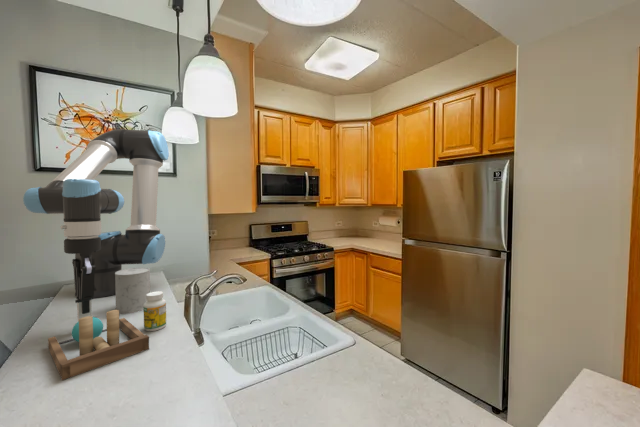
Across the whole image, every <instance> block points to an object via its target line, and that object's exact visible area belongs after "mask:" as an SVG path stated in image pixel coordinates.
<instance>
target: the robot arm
mask: <svg viewBox="0 0 640 427" xmlns="http://www.w3.org/2000/svg"><path fill="white" fill-rule="evenodd" d="M169 152H170V151H169V145H168V142H167V140H166V138H165V136H164V135H163V133H162V132H160V131H157V130H155V131H154V130H150V129H148V130H143V129H142V130H141V129H140V130H139V129H125V128H119V129H112V130H109V131H106V132H104V133H102V134H100V135H98V136H96V137H95V138H93V139H92V140H91V141H90V142H88V144H87V146H86V150H84V151H83V152H82V153H81V154H80V155H79V156H78V157H77V158H76V159H75V160H73V162H70V164H69V165H68V166H67V167H66V168H65V169H64V170H62V171H61V172H60V173H59V174H58V175H57V176H56V177H55V178H54V179H52V180H51V182H49V183H48V184H47V185H45V187H42V186H38V187H31V188H28V189H26V191H25V192H24V193H23V197H22V200H23V201H22V202H23V205H24V206H25V208H26V209H27V210H28V211H29V212H31V213H35V214H46V215H50V214H51V215H52V214H53V215H55V214H57V215H59V214H63V224H62V225H61V226H60V229H61V230H63V236H64V237H65V239H63V252H64V253H65V254H69V255H72V254H73V255H74V258H73V259H72V260H71V263H72V268H73V278H74V296H75V297H76V299H75V300H74V301H75V304H76V308H77V310H76V311H77V314H76V315H77V316H76V317H77V322H78V321H79V319H80V318H83V317H87V316H92V317H93V313H92V311H93V310H92V300H94V299H95V298H96V299H97V298H104V297H109V296H115V295H116V287H115V272H117V271H120V270H123V269H122V267H123V266H122V265H148V264H149V265H150V264H156V263H158V262H159V261H160V260H161V258H162V256H163V254H164V251H165V247H166V240H165V239H166V237H165V234H162V233H161V229H160V228H159V227H158V226H157V213H158V212H157V211H158V208H157V207H158V187H159V183H158V182H159V169H160V168H161V167H163V165H164V162H165V161H168V160H169V154H170V153H169ZM118 159H119V160H121V159H127V160H129V163H130V164H131V165H132V166H133V170H132V171H133V173H132V192H131V206H130V207H131V209H130V211H131V212H130V225H129V227H127V228H126V229H125V234H122V231H121V230H114V231H113V230H112V231H106V232H102V220H101V215H102V214H103V215H105V214H110V215H111V214H113V213H118V212H119V211H120V210H122V209H123V207H124V204H125V198H124V196H123V195H122V193H121V192H119V191H117V190H114V189H112V188H101V184H100V182H99V181H98V180H96V178H97V177H98V175H100V174H101V172H102V171H103V170H104V169H105V168H106V167H107V166H108V165H109V164H113V163H114V162H116V160H118Z"/></svg>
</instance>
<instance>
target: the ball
mask: <svg viewBox="0 0 640 427" xmlns="http://www.w3.org/2000/svg"><path fill="white" fill-rule="evenodd" d="M92 317H93V339H94V338H95V337H100V336H101V334H102V333H103V332H102V330H104V324H103V322H102V320H101V319H100V318H99V317H96V316H95V317H94V316H92ZM71 338H72V339H74V340H73V341H75V342H77V343H79V321H78V320H77V322H76V323H75V324H74V325H73V327H72V329H71Z"/></svg>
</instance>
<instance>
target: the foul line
mask: <svg viewBox="0 0 640 427" xmlns="http://www.w3.org/2000/svg"><path fill="white" fill-rule="evenodd" d="M104 332H107V328H105V329H103V330H102V332H101V333H104ZM72 341H75V340H74V339H73V338H70V339H66V340H63V341H60V342H59V341H58V343H59V345H61V344H66V343H69V342H72Z"/></svg>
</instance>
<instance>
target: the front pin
mask: <svg viewBox="0 0 640 427" xmlns="http://www.w3.org/2000/svg"><path fill="white" fill-rule="evenodd" d="M107 347H110V346H109V345H108V343H107V340H105V339H104V337H102V336H98V337H95V338H94V339H93V351H97V350H100V349H104V348H107Z"/></svg>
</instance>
